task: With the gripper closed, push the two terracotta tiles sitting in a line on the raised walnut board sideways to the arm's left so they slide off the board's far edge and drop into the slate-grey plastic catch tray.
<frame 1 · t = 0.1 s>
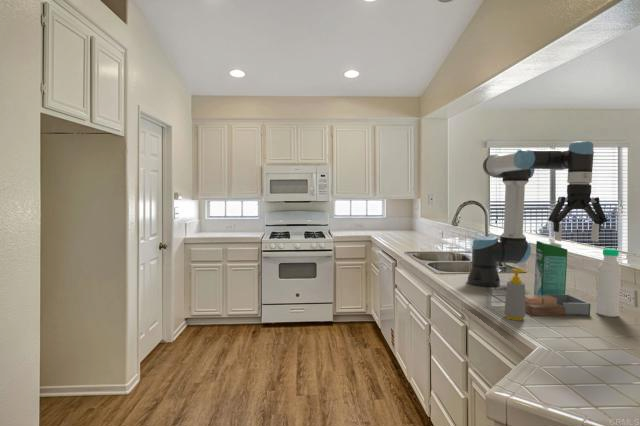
hand: (576, 241, 144), 28 cm above the worktop, fingers open, 13 cm apart
walnut board: (537, 309, 152), on the worktop
water bottle: (607, 315, 147), on the worktop
soap bottle: (514, 318, 141), on the worktop
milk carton: (548, 300, 166), on the worktop
tile b: (546, 302, 152), point 3 cm above the worktop, touching walnut board
catch tray: (565, 309, 152), on the worktop
tile a: (532, 301, 152), point 3 cm above the worktop, touching walnut board
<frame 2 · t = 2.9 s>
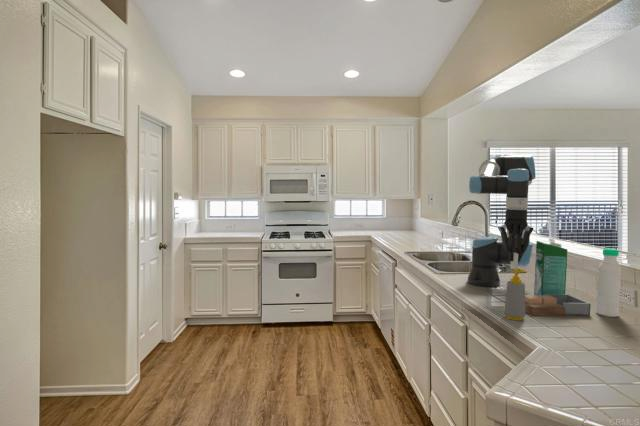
hand: (513, 269, 151), 16 cm above the worktop, fingers closed
nothing on the worktop moved.
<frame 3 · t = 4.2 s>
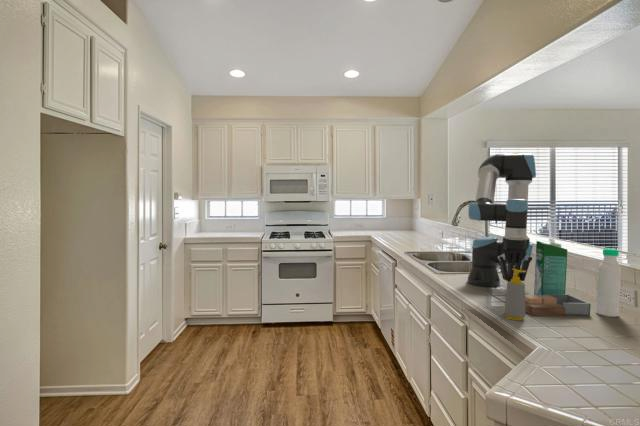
hand: (512, 298, 152), 4 cm above the worktop, fingers closed
nothing on the worktop moved.
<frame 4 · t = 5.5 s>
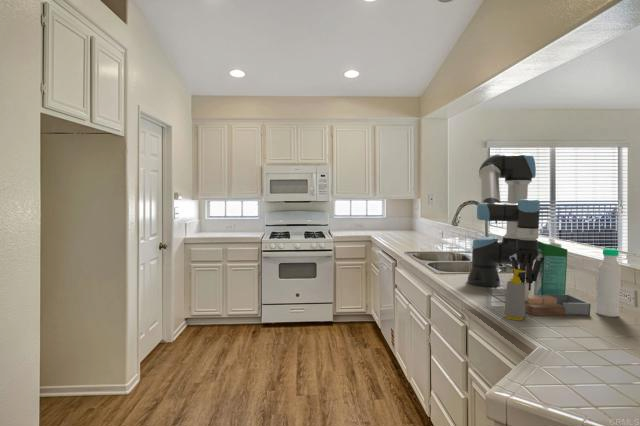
hand: (524, 298, 152), 4 cm above the worktop, fingers closed
tile a: (532, 301, 152), point 3 cm above the worktop, touching gripper, walnut board
everything else where it was.
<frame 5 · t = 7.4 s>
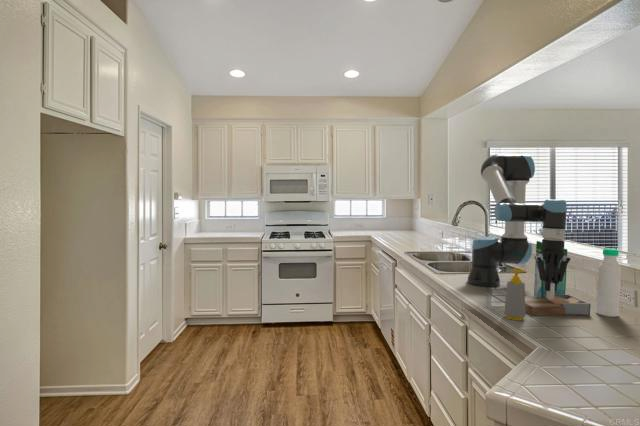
hand: (550, 298, 152), 4 cm above the worktop, fingers closed
tile b: (569, 301, 152), point 3 cm above the worktop, tilted 155°, touching catch tray
tile a: (557, 302, 152), point 3 cm above the worktop, tilted 9°, touching gripper
everything else where it was.
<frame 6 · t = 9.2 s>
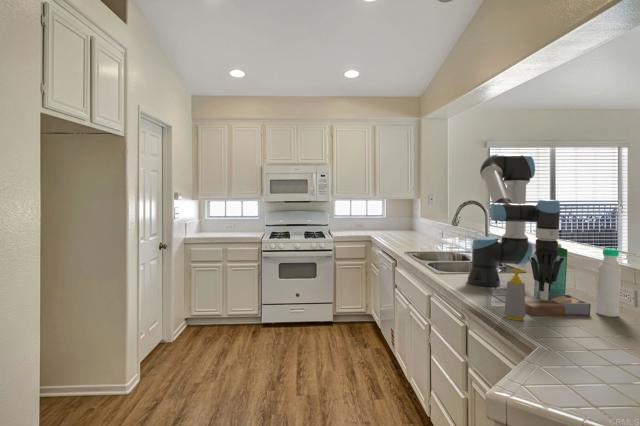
hand: (543, 299, 152), 4 cm above the worktop, fingers closed
tile b: (569, 301, 152), point 3 cm above the worktop, tilted 155°, touching catch tray, tile a
tile a: (561, 304, 152), point 2 cm above the worktop, tilted 17°, touching catch tray, tile b
everything else where it was.
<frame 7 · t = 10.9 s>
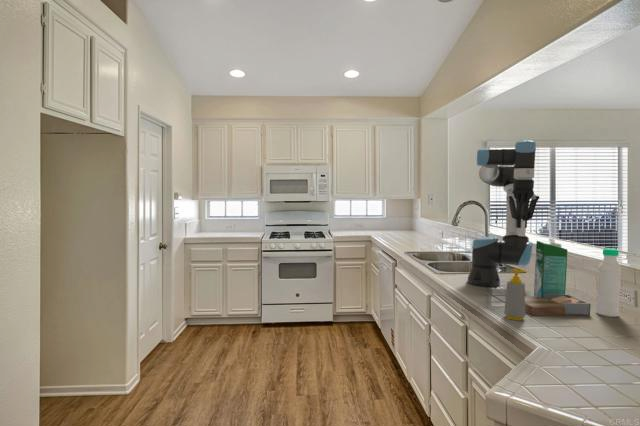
hand: (521, 235, 162), 28 cm above the worktop, fingers closed
nothing on the worktop moved.
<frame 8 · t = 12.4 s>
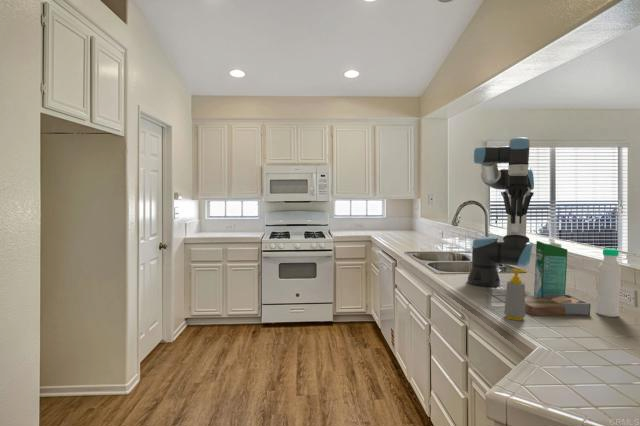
hand: (515, 231, 164), 29 cm above the worktop, fingers closed
nothing on the worktop moved.
at the end: tile a inside the target area (2.0 cm from its centre), point 2.4 cm above the worktop; tile b inside the target area (1.1 cm from its centre), point 3.4 cm above the worktop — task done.
